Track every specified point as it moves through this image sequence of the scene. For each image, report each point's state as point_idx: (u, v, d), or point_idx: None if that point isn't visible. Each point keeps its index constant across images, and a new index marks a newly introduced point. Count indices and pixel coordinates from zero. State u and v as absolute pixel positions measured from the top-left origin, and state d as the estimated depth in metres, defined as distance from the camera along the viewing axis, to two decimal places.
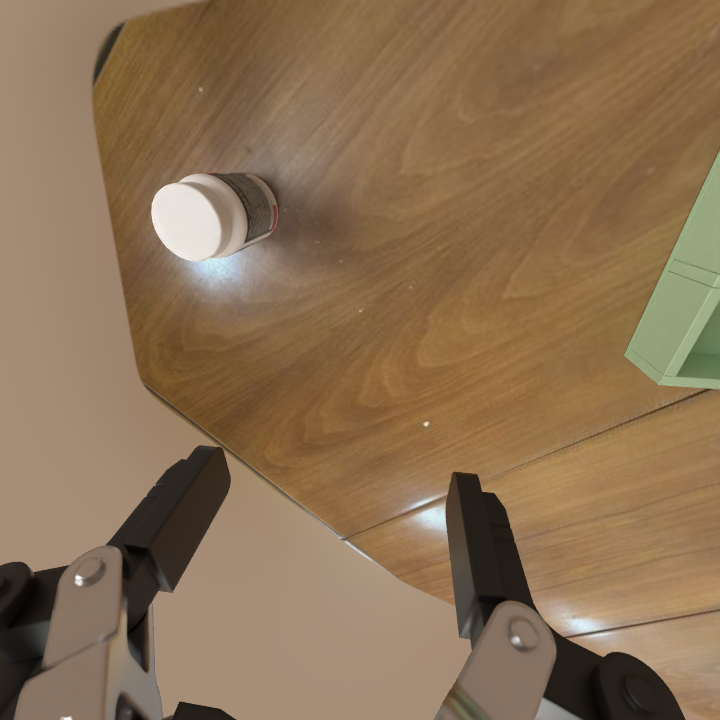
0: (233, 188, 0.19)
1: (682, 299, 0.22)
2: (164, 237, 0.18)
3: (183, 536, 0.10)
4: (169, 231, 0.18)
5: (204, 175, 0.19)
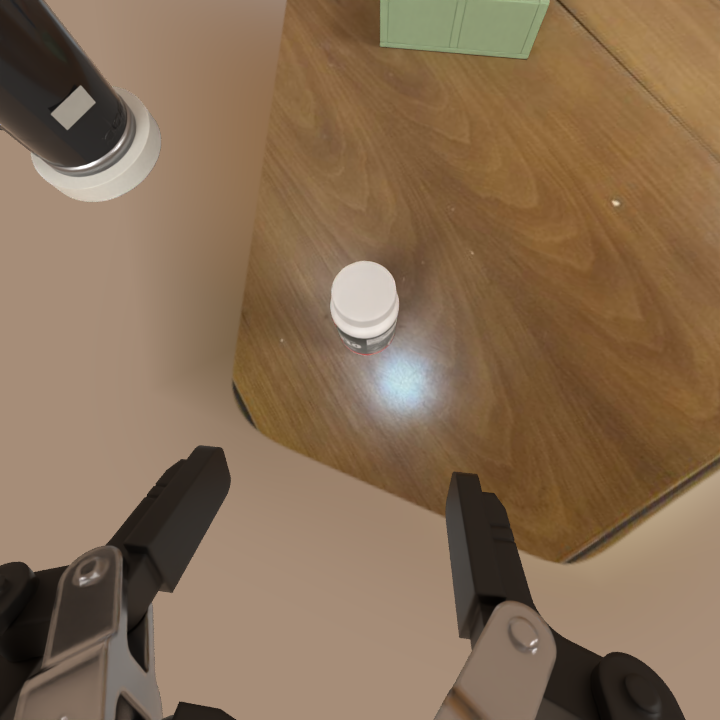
0: None
1: (476, 21, 0.31)
2: (370, 314, 0.20)
3: (183, 536, 0.10)
4: (366, 307, 0.20)
5: None
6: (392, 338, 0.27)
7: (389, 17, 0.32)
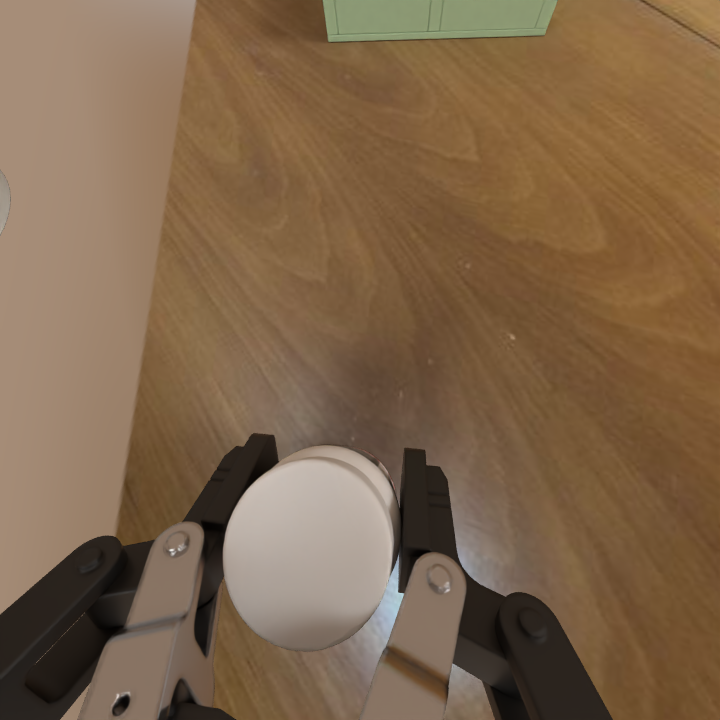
0: None
1: None
2: (327, 630, 0.07)
3: None
4: (316, 606, 0.07)
5: None
6: None
7: None
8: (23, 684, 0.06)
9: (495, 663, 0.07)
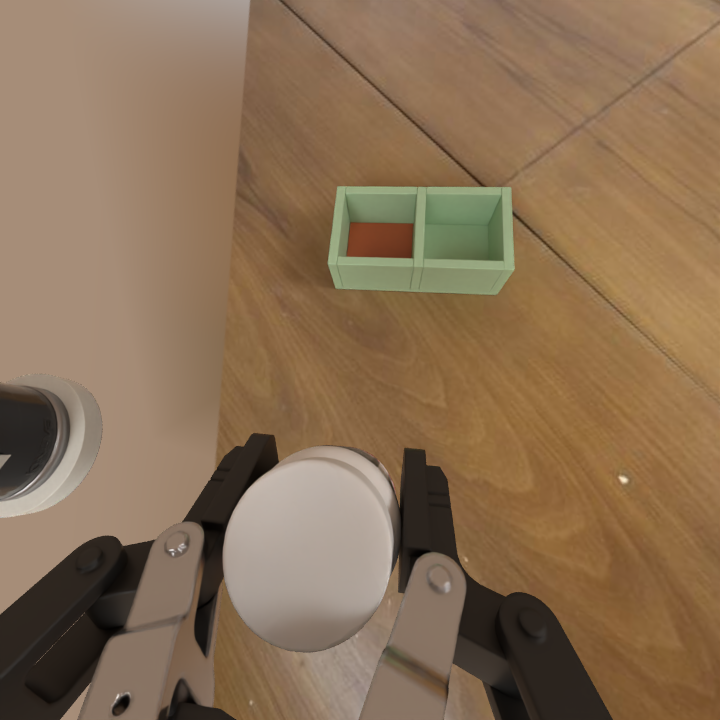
0: (282, 461, 0.11)
1: (436, 277, 0.28)
2: (327, 631, 0.07)
3: None
4: (316, 607, 0.07)
5: None
6: None
7: (341, 275, 0.29)
8: (23, 684, 0.06)
9: (495, 663, 0.07)
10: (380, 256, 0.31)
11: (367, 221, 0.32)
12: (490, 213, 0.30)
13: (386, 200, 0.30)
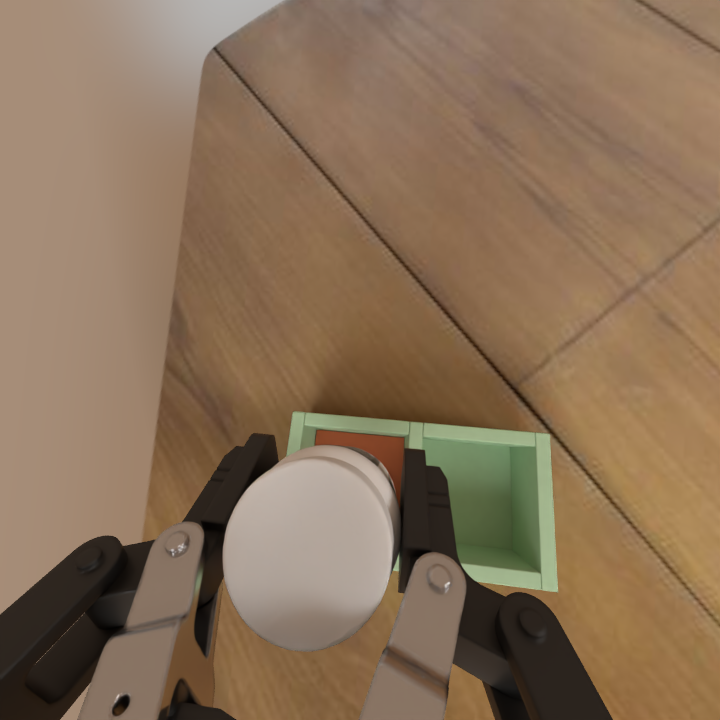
0: None
1: None
2: (327, 630, 0.07)
3: None
4: (315, 607, 0.07)
5: None
6: None
7: None
8: (23, 684, 0.06)
9: (495, 663, 0.07)
10: None
11: (340, 431, 0.23)
12: (515, 446, 0.21)
13: (364, 431, 0.20)
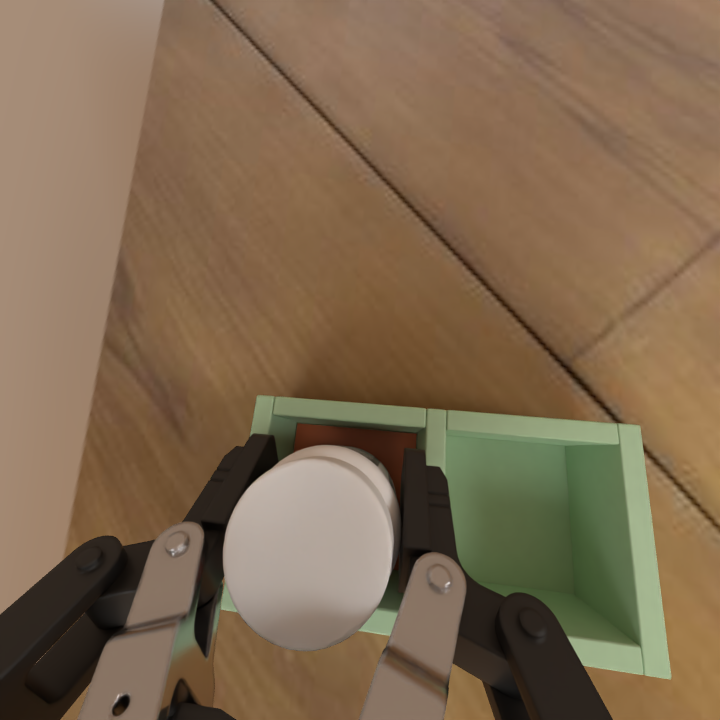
0: None
1: None
2: (327, 629, 0.07)
3: None
4: (316, 606, 0.07)
5: None
6: None
7: None
8: (23, 684, 0.06)
9: (495, 663, 0.07)
10: None
11: (329, 424, 0.17)
12: (578, 445, 0.14)
13: (361, 423, 0.14)
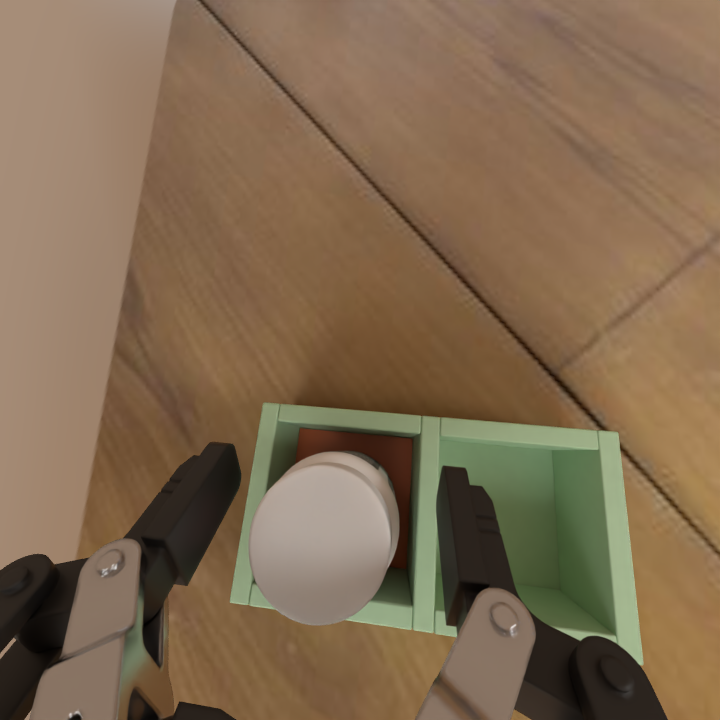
0: None
1: None
2: (338, 607, 0.08)
3: (197, 531, 0.10)
4: (328, 588, 0.09)
5: None
6: None
7: None
8: None
9: (572, 716, 0.06)
10: None
11: (330, 429, 0.18)
12: (563, 450, 0.15)
13: (360, 429, 0.15)
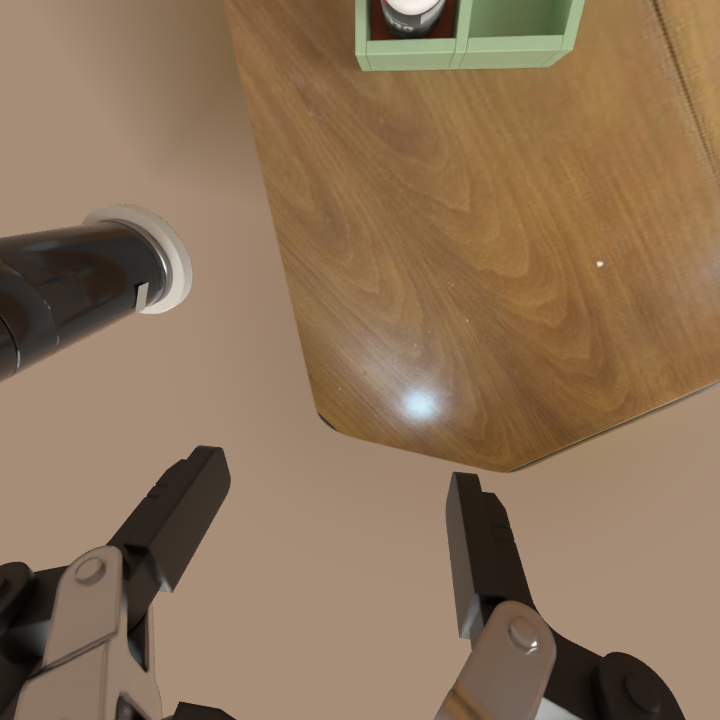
0: None
1: (480, 58, 0.24)
2: None
3: (183, 536, 0.10)
4: None
5: None
6: (443, 8, 0.24)
7: (370, 62, 0.25)
8: None
9: None
10: None
11: None
12: None
13: None
